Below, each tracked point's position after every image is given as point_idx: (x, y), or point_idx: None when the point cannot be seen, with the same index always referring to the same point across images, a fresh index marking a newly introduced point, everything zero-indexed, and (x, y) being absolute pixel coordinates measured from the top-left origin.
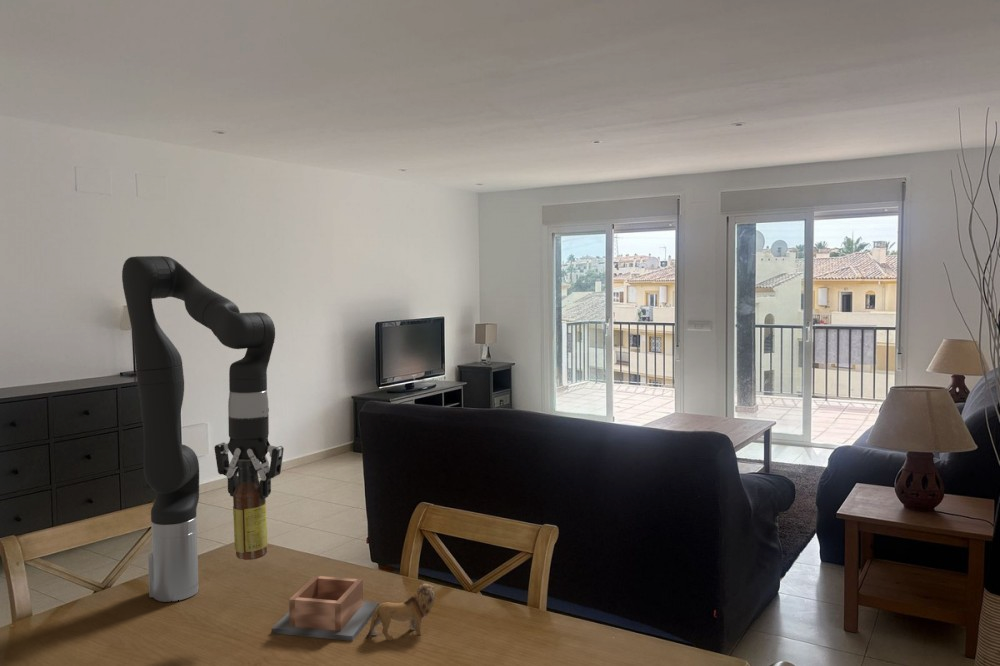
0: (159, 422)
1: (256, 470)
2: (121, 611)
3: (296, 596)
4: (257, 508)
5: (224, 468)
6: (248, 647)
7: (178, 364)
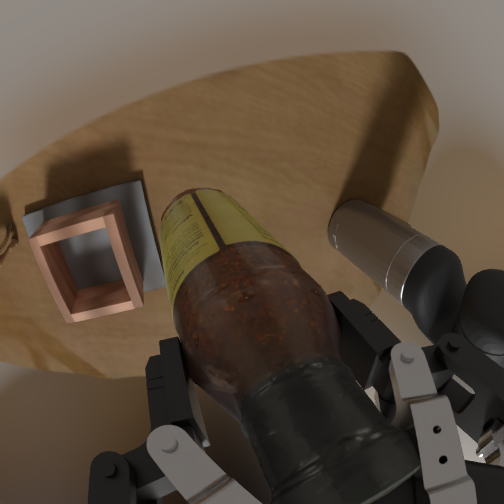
0: None
1: (228, 477)
2: (380, 163)
3: (109, 228)
4: (174, 290)
5: (448, 371)
6: (145, 128)
7: None
